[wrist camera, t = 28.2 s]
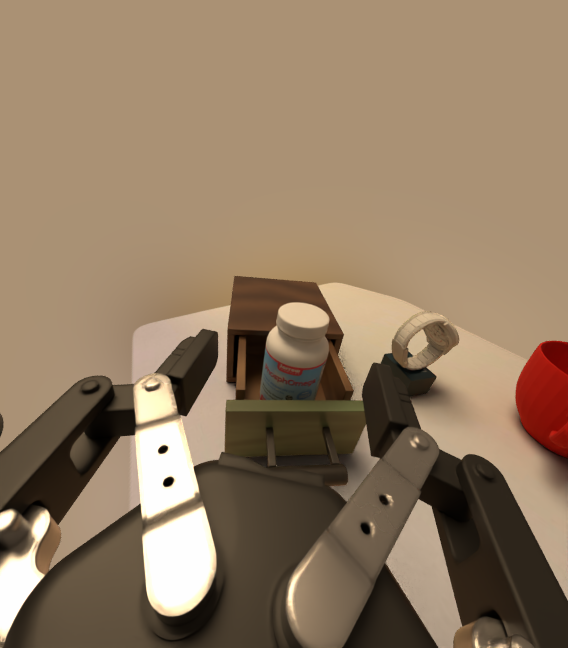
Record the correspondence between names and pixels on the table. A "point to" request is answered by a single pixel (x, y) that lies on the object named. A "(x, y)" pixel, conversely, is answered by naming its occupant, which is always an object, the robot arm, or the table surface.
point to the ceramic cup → (546, 396)
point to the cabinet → (269, 311)
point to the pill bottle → (295, 353)
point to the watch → (414, 367)
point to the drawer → (293, 416)
